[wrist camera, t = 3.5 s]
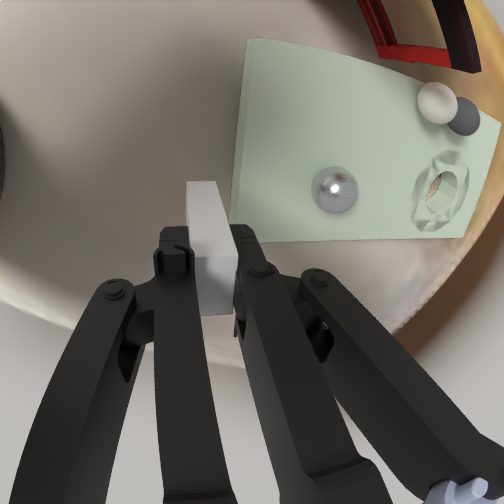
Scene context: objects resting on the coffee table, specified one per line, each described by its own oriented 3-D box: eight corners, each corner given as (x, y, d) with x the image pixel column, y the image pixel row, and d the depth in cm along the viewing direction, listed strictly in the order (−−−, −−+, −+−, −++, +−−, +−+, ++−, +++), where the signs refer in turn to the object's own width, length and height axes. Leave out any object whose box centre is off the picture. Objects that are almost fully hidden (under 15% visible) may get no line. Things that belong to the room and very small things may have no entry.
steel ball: (299, 200, 21) (318, 223, 18) (308, 157, 19) (329, 175, 16) (339, 202, 21) (360, 223, 19) (349, 161, 20) (373, 179, 17)
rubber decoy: (433, 125, 19) (463, 137, 16) (440, 88, 17) (471, 97, 15) (454, 132, 20) (482, 144, 17) (460, 99, 18) (489, 108, 16)
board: (228, 225, 24) (234, 243, 22) (246, 40, 16) (256, 37, 14) (449, 226, 30) (462, 237, 28) (484, 116, 22) (501, 123, 20)
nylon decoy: (449, 127, 15) (459, 129, 17) (453, 82, 14) (463, 90, 15) (408, 117, 17) (423, 119, 19) (411, 75, 16) (426, 82, 17)
